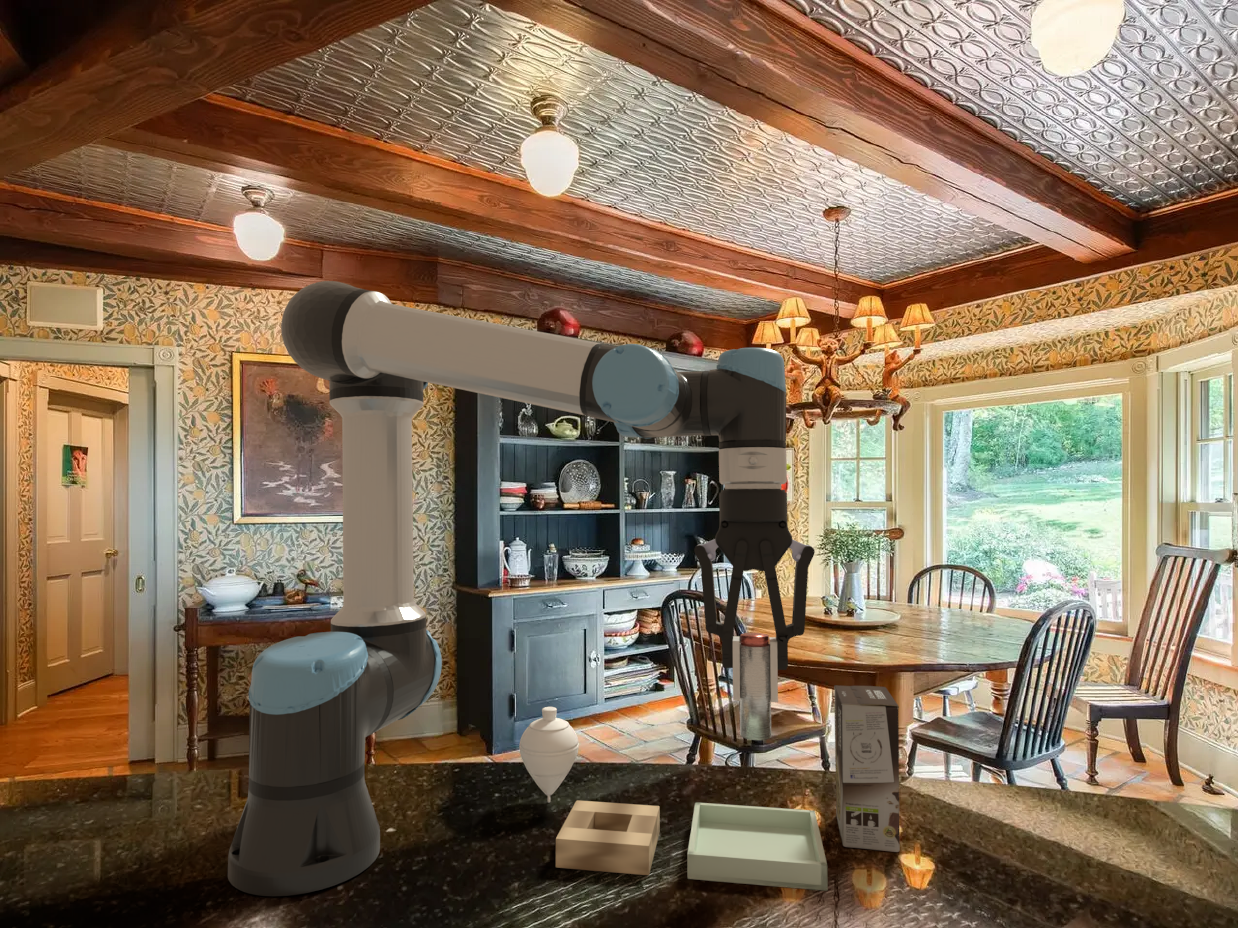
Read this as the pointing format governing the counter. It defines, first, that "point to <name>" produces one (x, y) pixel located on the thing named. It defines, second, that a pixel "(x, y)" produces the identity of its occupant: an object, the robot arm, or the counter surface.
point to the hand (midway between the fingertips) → (755, 697)
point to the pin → (755, 686)
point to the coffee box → (867, 767)
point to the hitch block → (609, 837)
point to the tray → (756, 846)
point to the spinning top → (549, 750)
